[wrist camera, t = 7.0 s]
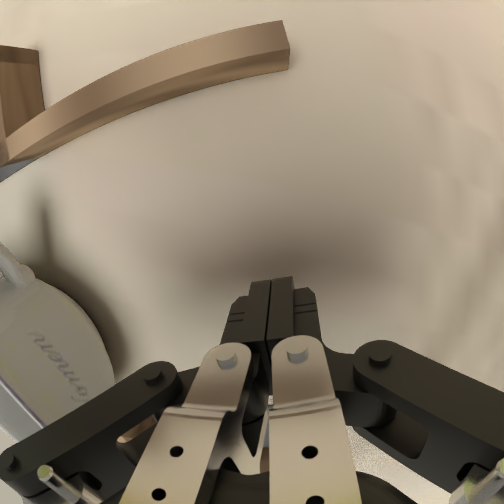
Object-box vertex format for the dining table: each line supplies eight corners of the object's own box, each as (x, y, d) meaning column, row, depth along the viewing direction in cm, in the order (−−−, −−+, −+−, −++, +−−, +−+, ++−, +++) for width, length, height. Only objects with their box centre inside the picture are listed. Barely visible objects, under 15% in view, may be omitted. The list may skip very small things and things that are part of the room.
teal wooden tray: (253, -44, 8) (233, -131, 2) (337, 444, 18) (343, 513, 12) (-50, 136, 11) (-108, 153, 6) (87, 434, 22) (64, 478, 16)
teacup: (127, 408, 18) (87, 493, 11) (17, 344, 18) (-36, 405, 10) (155, 243, 13) (45, 360, 6) (5, 179, 12) (-101, 224, 5)
